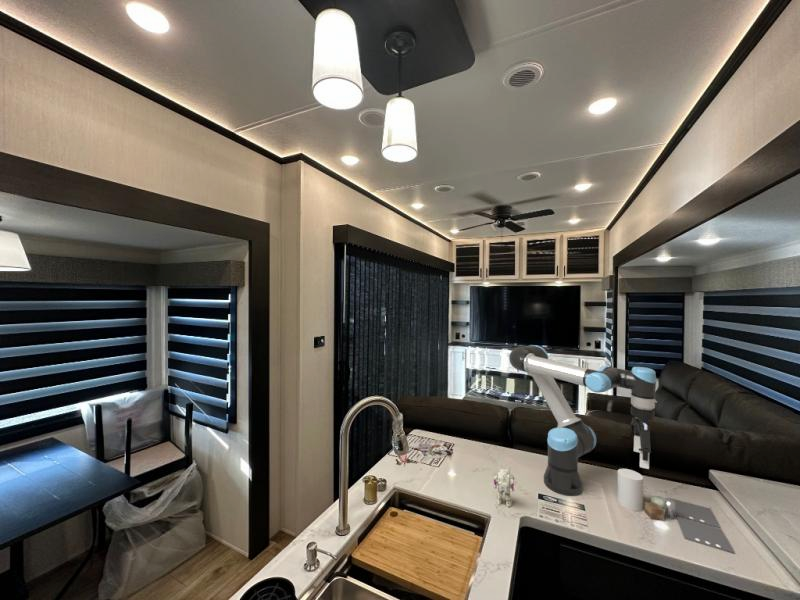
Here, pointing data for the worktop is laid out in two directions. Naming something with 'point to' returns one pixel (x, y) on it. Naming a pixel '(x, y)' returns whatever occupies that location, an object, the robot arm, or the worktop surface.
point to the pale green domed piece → (657, 501)
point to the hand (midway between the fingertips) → (640, 459)
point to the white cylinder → (630, 489)
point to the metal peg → (669, 508)
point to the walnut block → (654, 511)
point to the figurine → (503, 485)
